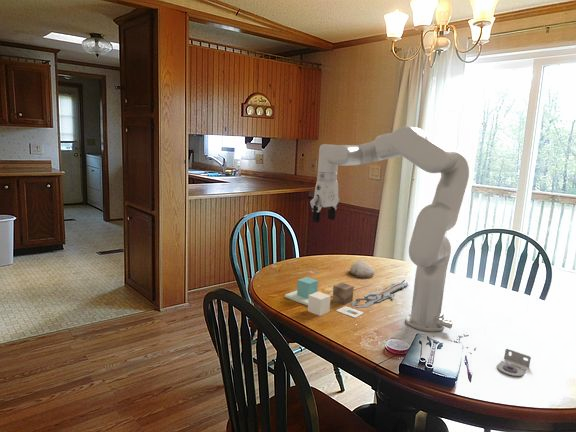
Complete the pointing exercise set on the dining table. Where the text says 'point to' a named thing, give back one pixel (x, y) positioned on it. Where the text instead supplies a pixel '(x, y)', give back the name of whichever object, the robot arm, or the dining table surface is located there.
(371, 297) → the gun
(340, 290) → the walnut brick
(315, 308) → the cream brick
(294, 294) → the baseplate
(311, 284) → the teal brick
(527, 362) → the bracket
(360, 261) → the stone
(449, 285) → the dining table surface
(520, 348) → the dining table surface
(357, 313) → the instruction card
